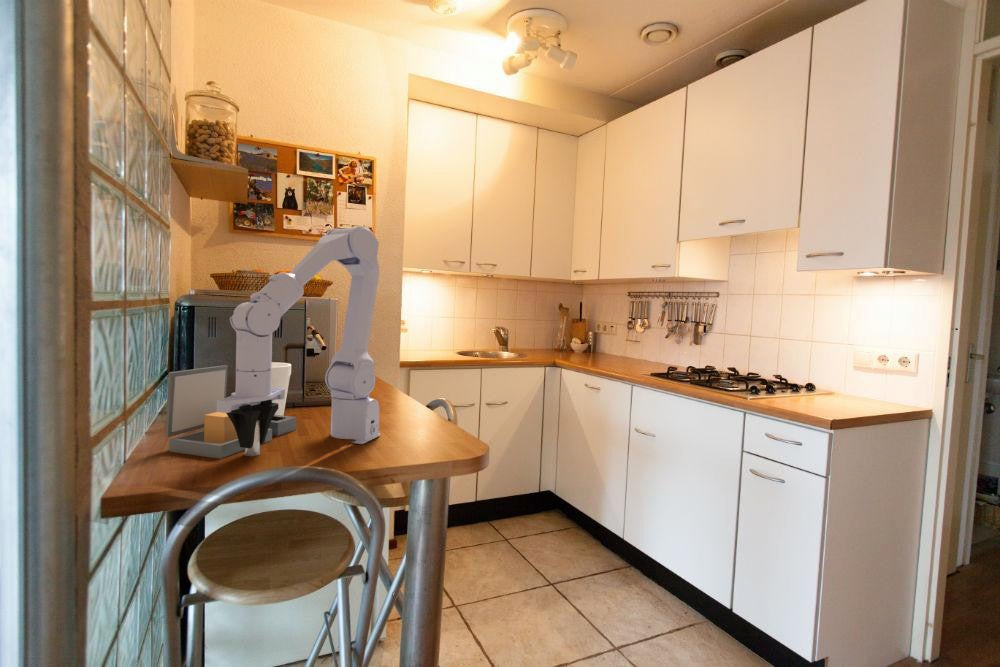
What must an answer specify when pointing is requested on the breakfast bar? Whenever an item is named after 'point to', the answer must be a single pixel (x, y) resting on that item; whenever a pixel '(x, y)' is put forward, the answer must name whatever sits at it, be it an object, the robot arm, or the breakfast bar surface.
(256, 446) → the white upright cylinder
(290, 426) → the grey square socket
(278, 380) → the foam cup
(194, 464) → the breakfast bar surface
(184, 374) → the lid
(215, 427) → the block
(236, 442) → the grey shallow rectangular tray
